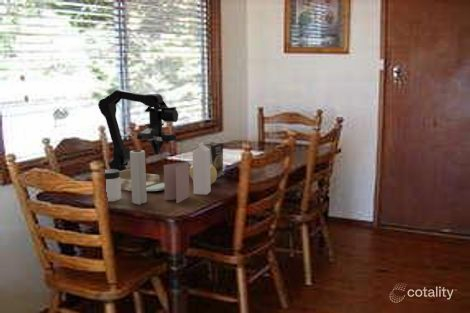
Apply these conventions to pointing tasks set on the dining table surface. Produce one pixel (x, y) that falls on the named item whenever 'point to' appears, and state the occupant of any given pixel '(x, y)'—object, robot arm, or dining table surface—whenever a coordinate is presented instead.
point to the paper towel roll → (138, 176)
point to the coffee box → (216, 156)
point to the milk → (201, 170)
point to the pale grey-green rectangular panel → (156, 187)
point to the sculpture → (212, 173)
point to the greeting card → (176, 181)
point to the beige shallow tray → (126, 179)
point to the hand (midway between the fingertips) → (157, 154)
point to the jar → (113, 184)
